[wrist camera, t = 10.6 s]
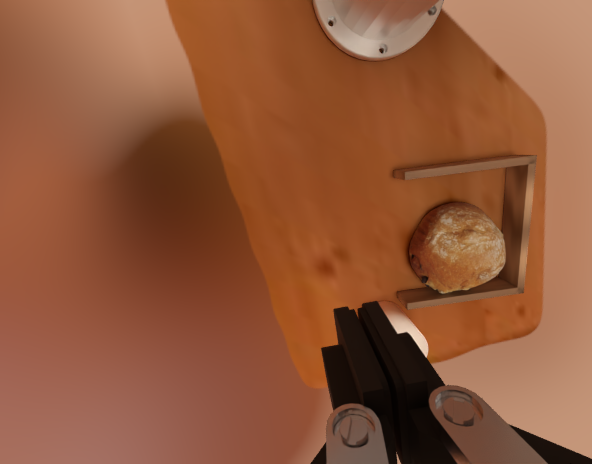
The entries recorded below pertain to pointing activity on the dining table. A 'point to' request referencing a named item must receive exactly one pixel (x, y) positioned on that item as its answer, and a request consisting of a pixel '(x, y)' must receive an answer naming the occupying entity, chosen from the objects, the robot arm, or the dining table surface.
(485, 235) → the bread roll
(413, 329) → the pot
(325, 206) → the dining table surface
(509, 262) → the open rail frame
